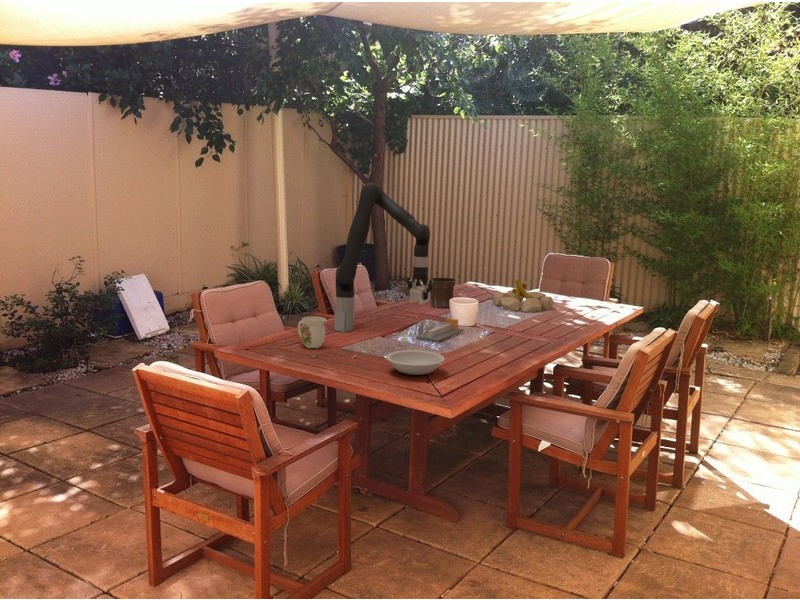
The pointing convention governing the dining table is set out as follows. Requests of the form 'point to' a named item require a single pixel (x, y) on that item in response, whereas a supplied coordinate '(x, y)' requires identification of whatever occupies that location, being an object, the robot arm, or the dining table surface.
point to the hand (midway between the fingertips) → (419, 298)
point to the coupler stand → (442, 331)
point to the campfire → (515, 297)
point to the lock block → (418, 295)
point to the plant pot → (442, 292)
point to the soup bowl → (415, 361)
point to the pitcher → (312, 331)
